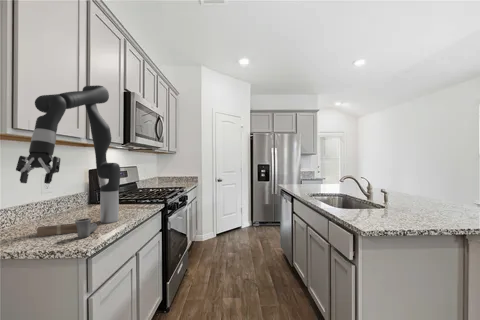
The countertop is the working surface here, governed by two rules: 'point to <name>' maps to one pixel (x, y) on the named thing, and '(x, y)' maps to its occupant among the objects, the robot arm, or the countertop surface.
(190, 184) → the countertop surface
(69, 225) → the banded brown beam
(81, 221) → the pipe
